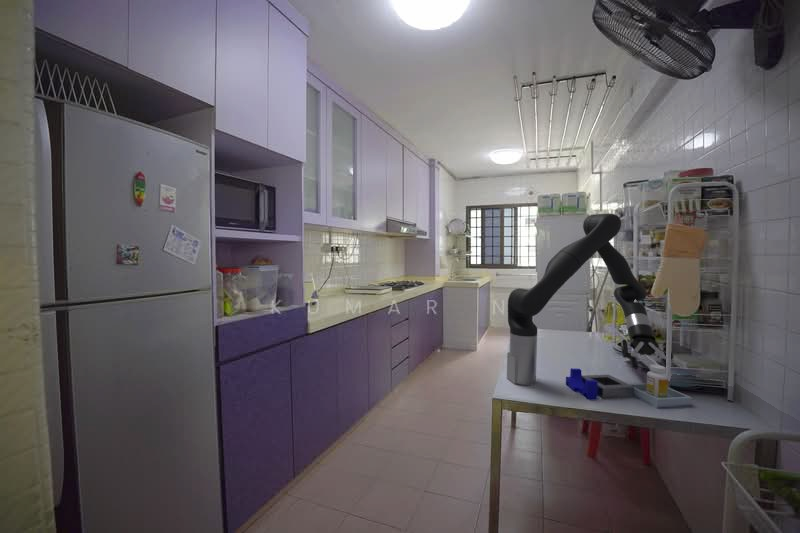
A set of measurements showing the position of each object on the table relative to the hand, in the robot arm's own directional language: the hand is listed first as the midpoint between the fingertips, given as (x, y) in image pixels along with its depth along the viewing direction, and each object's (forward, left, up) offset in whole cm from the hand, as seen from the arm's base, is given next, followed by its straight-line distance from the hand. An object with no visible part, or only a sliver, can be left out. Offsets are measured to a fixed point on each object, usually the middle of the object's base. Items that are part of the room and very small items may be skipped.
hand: (651, 369), depth 113 cm
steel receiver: (-15, +2, -7) cm, 17 cm away
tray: (-3, -5, -7) cm, 9 cm away
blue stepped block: (-24, +3, -8) cm, 25 cm away
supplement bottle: (-2, -5, -7) cm, 9 cm away
